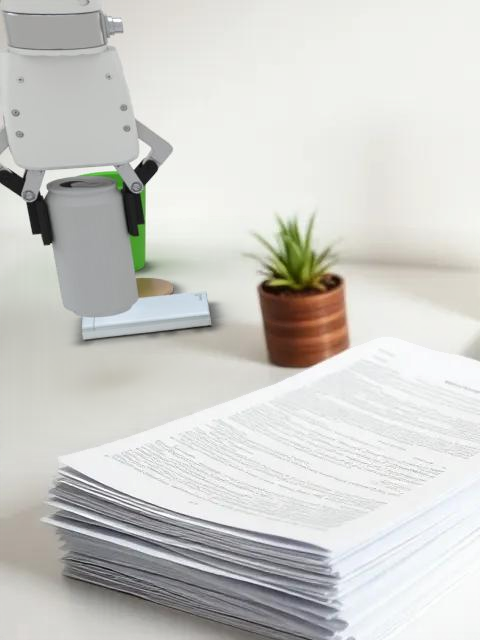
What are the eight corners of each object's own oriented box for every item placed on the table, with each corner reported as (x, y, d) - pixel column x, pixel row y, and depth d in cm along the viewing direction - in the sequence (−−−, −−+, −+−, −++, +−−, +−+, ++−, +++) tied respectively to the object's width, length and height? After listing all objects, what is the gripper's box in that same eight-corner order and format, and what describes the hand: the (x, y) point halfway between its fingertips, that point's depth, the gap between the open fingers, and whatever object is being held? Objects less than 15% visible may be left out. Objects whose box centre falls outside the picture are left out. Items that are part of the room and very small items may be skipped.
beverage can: (85, 294, 108) (64, 171, 103) (152, 298, 108) (133, 175, 103) (50, 318, 103) (25, 189, 98) (120, 322, 103) (99, 193, 98)
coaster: (76, 307, 126) (76, 304, 126) (102, 281, 134) (102, 278, 134) (161, 305, 127) (160, 302, 127) (182, 280, 135) (181, 276, 135)
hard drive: (206, 289, 127) (84, 301, 123) (209, 313, 121) (80, 326, 116) (208, 303, 128) (86, 315, 123) (212, 327, 121) (83, 341, 117)
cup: (74, 281, 134) (55, 189, 129) (91, 258, 142) (74, 171, 137) (155, 277, 136) (140, 187, 131) (167, 255, 144) (154, 169, 139)
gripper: (159, 25, 102) (185, 216, 110) (-65, 28, 94) (-21, 236, 101) (173, 36, 97) (199, 238, 104) (-64, 41, 88) (-18, 260, 96)
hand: (90, 235), depth 103 cm, fingers closed on beverage can, 6 cm apart
